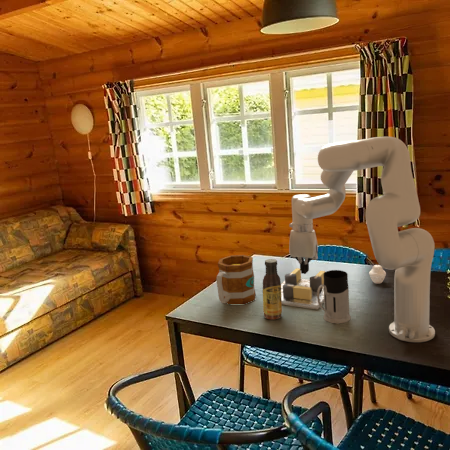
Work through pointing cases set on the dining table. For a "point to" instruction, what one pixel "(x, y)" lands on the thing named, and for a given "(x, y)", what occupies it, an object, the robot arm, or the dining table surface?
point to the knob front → (296, 292)
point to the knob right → (317, 281)
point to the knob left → (293, 277)
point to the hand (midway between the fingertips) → (304, 272)
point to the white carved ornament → (377, 274)
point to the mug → (236, 279)
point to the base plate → (303, 302)
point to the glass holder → (335, 296)
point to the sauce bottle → (272, 291)
